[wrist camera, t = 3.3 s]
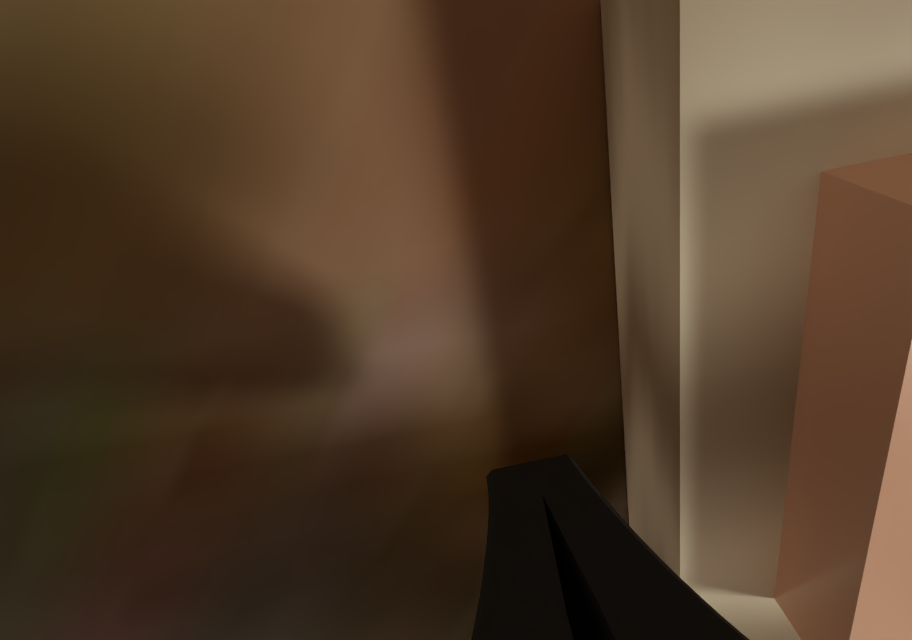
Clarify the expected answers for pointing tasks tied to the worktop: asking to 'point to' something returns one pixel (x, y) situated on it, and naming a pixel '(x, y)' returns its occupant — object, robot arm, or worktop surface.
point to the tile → (854, 416)
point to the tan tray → (730, 255)
